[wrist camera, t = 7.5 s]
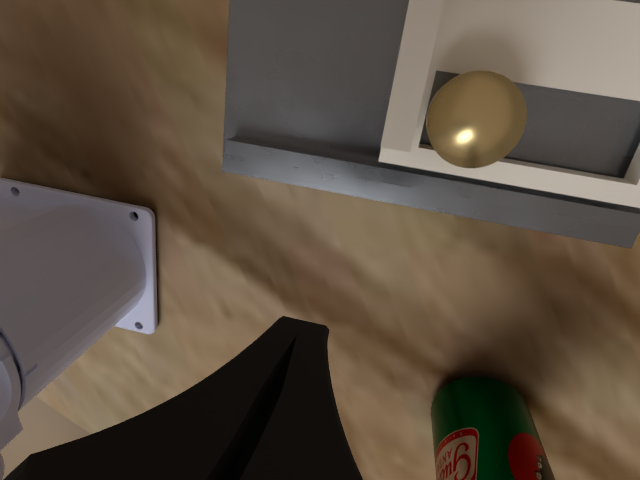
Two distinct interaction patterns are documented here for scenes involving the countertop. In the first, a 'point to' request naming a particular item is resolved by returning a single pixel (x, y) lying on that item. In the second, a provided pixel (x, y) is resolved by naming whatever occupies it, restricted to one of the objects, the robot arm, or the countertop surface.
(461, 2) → the panel
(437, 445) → the soda can
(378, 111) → the boss plate
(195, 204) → the countertop surface
